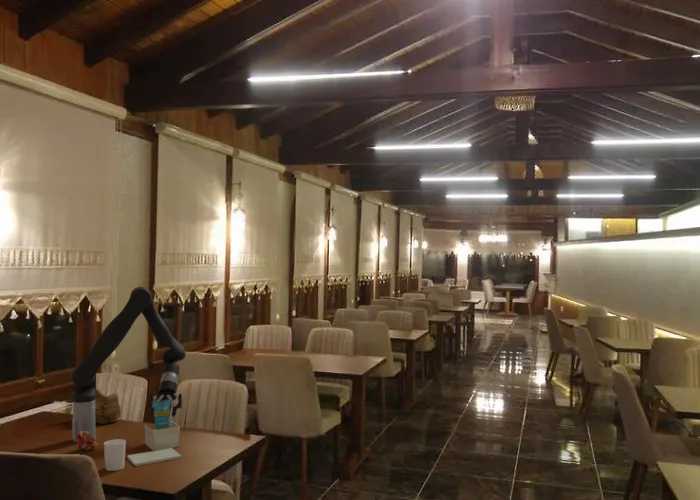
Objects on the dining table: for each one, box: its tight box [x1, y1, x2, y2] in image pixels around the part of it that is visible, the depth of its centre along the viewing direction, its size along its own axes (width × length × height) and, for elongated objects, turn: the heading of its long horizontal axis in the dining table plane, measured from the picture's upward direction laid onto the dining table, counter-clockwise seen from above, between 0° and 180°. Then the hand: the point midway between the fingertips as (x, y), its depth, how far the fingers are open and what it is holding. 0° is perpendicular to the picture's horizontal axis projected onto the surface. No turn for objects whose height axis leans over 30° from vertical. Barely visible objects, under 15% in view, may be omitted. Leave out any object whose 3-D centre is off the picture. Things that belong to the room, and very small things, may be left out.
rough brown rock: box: [95, 388, 122, 425], centre depth 314 cm, size 23×17×15 cm
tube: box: [153, 400, 171, 430], centre depth 272 cm, size 7×5×19 cm, turn 123°
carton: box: [144, 419, 181, 451], centre depth 272 cm, size 12×14×8 cm
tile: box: [126, 448, 182, 467], centre depth 254 cm, size 18×13×1 cm
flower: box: [76, 431, 99, 452], centre depth 267 cm, size 10×9×8 cm
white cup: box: [103, 438, 127, 472], centre depth 242 cm, size 8×8×10 cm
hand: (162, 416), depth 274 cm, fingers open, 8 cm apart
